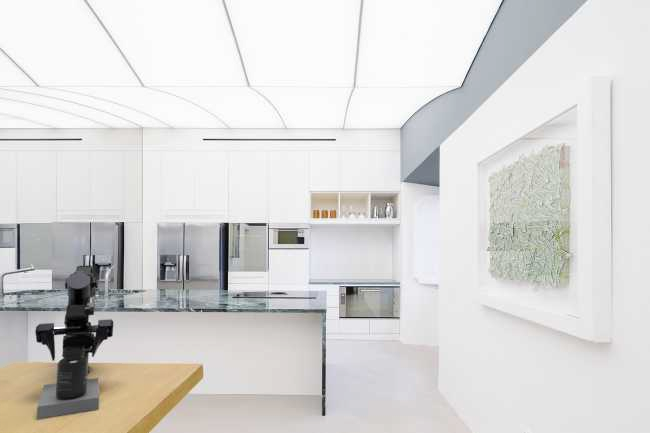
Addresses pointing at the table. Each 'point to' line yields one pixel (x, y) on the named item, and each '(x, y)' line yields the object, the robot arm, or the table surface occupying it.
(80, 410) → the riser block
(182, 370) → the table surface
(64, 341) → the robot arm
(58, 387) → the supplement bottle
